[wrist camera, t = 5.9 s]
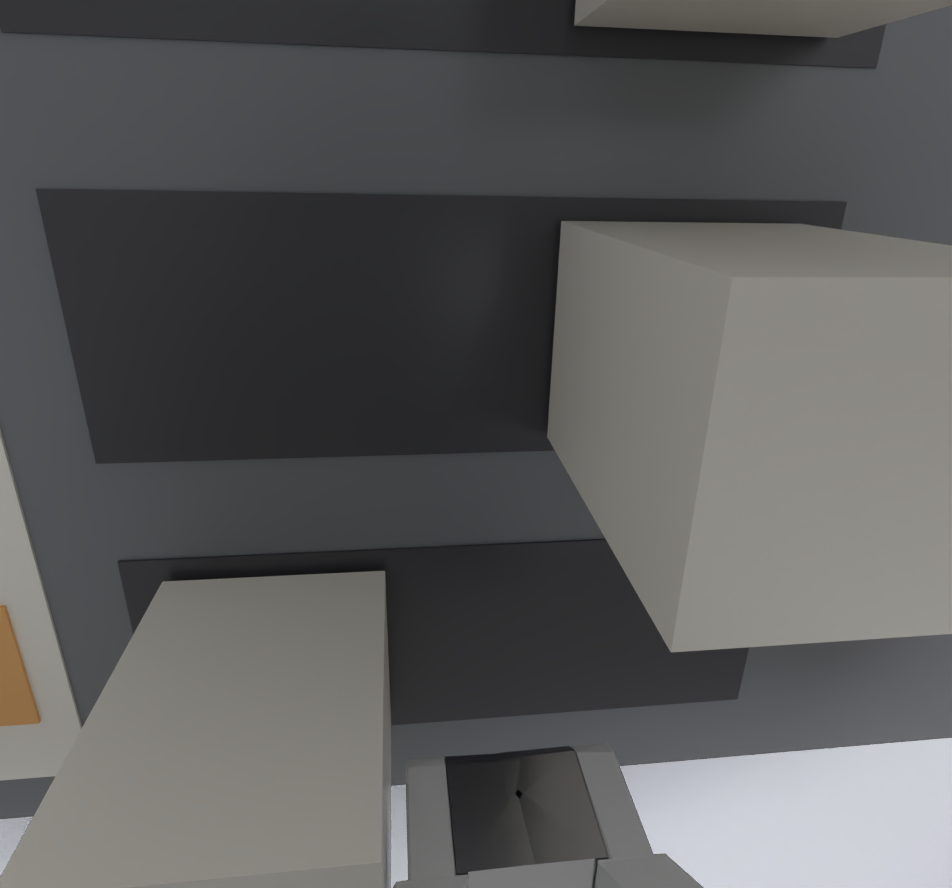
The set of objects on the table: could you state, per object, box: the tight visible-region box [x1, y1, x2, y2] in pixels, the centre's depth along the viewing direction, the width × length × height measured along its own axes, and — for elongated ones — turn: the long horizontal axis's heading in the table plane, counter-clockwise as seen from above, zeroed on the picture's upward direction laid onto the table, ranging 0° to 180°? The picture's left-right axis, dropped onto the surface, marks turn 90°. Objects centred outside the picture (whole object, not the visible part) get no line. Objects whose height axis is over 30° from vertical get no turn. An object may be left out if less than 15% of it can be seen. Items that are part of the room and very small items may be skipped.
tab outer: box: [0, 571, 391, 888], centre depth 9 cm, size 3×4×5 cm
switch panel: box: [0, 0, 952, 819], centre depth 11 cm, size 18×22×2 cm
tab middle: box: [547, 221, 952, 652], centre depth 8 cm, size 3×4×5 cm
